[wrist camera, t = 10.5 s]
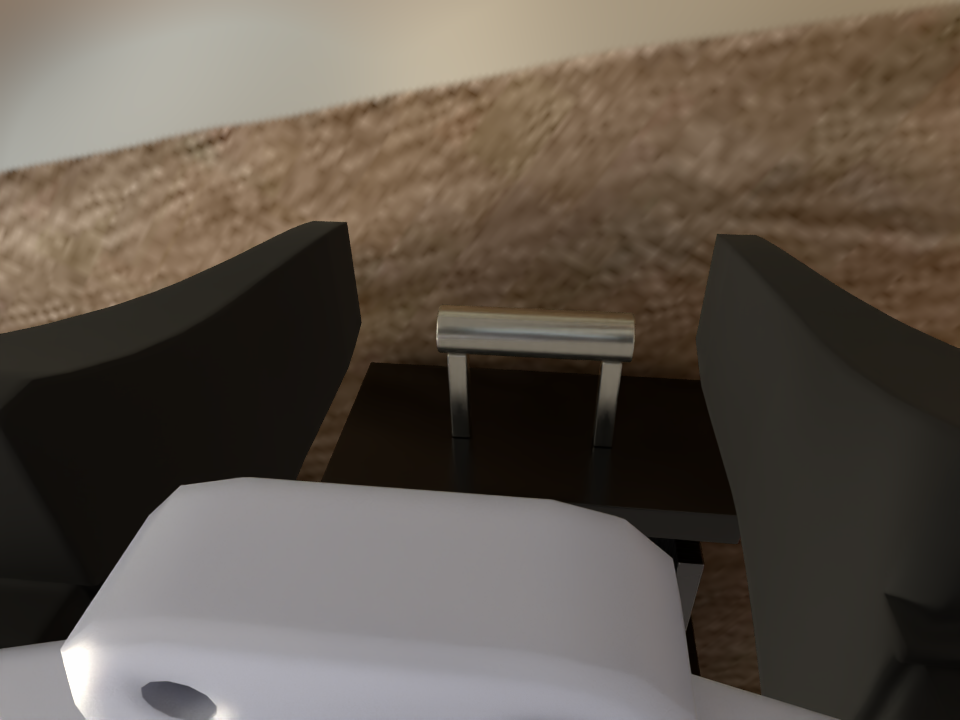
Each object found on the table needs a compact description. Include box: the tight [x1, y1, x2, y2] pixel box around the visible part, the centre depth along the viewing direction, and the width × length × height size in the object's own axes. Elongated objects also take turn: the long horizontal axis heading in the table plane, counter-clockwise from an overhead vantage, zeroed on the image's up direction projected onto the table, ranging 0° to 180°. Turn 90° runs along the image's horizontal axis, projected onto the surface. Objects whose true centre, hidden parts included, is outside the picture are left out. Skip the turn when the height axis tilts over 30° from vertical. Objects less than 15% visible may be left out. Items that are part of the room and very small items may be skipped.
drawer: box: [321, 305, 741, 634], centre depth 25 cm, size 18×12×6 cm
